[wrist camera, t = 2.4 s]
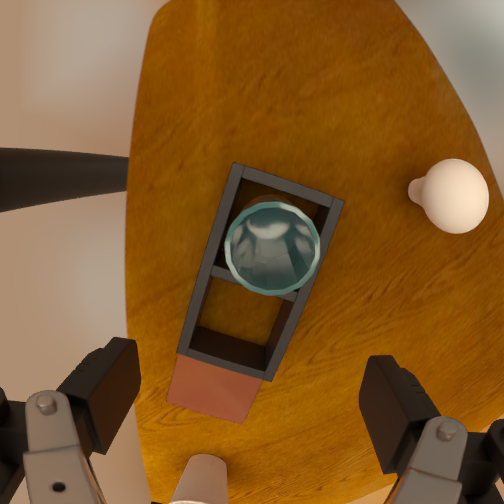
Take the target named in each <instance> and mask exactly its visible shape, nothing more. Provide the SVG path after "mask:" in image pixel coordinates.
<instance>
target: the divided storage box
mask: <svg viewBox="0 0 504 504" xmlns="http://www.w3.org/2000/svg"><path fill="white" fill-rule="evenodd" d="M244 179H247V180H251V181H254V182H257V183H260V184H263V185H266V186H269V187H272V188H275V189H277V190H280V191H283V192H286V193H289V194H292V195H295V196H298V197H300V198H303V199H306V200H309V201H312V202H314V203H317V204H319V207H318V210H317V213H316V216H315V218H314V221H313V224H314V226H315V228H316V230H317V232H318V235H319V237H320V259H319V261H318V264H317V266H316V269H315V272H314V273H313V275H312V276H311V277H310V278H309V279H308V280H307V281H306V282H305V283H304V284H303V285H302V286H301V287H299V288H297V289H295V290H293V291H291V292H289V293H287V294H284V295H272V296H275V297H278V298H282V299H284V301H283V304H282V306H281V309H280V311H279V314H278V316H277V319H276V321H275V324H274V326H273V329H272V331H271V334H270V336H269V339H268V341H267V344H266V346H265V347H264V346H260V345H257V344H254V343H250V342H247V341H244V340H240V339H237V338H234V337H231V336H228V335H225V334H221V333H218V332H215V331H212V330H209V329H206V328H203V327H200V326H198V324H199V320H200V317H201V314H202V310H203V307H204V304H205V300H206V297H207V294H208V291H209V287H210V284H211V281H212V278H213V276H214V277H217V278H220V279H223V280H226V281H229V282H232V283H235V284H238V285H241V286H243V285H242V284H241V283H240V282H238V281H237V280H236V279H235V278H234V276H233V275H232V273H231V271H230V269H229V267H228V265H227V263H226V258H225V253H223V252H221V249H222V246H223V242H224V239H225V236H226V233H227V230H228V227H229V224H230V221H231V218H232V214H233V211H234V208H235V205H236V202H237V199H238V196H239V193H240V190H241V187H242V184H243V181H244ZM344 202H345V201H344V200H341V199H338V198H336V197H333V196H331V195H328V194H325V193H323V192H320V191H317V190H314V189H312V188H309V187H306V186H303V185H301V184H298V183H295V182H292V181H289V180H286V179H283V178H281V177H278V176H275V175H272V174H269V173H266V172H263V171H260V170H257V169H254V168H251V167H248V166H244V165H241V164H238V163H235V162H233V164H232V167H231V170H230V173H229V176H228V179H227V182H226V186H225V189H224V192H223V195H222V198H221V201H220V204H219V207H218V211H217V214H216V217H215V220H214V223H213V227H212V230H211V233H210V236H209V240H208V243H207V246H206V249H205V253H204V256H203V259H202V263H201V266H200V270H199V273H198V276H197V280H196V283H195V287H194V290H193V294H192V297H191V301H190V304H189V308H188V311H187V315H186V319H185V322H184V326H183V330H182V333H181V337H180V341H179V344H178V348H177V352H176V353H178V354H181V355H184V356H187V357H190V358H193V359H196V360H199V361H202V362H205V363H208V364H211V365H214V366H217V367H220V368H224V369H227V370H230V371H234V372H237V373H240V374H244V375H247V376H251V377H254V378H258V379H262V380H266V381H269V382H272V380H273V378H274V375H275V373H276V371H277V369H278V367H279V364H280V362H281V360H282V358H283V356H284V353H285V351H286V349H287V346H288V344H289V342H290V340H291V337H292V335H293V333H294V330H295V328H296V326H297V323H298V321H299V319H300V316H301V314H302V311H303V309H304V307H305V304H306V302H307V299H308V297H309V294H310V292H311V290H312V287H313V285H314V282H315V280H316V277H317V274H318V272H319V269H320V267H321V264H322V262H323V259H324V257H325V254H326V251H327V249H328V246H329V243H330V241H331V238H332V235H333V233H334V230H335V227H336V224H337V222H338V219H339V216H340V213H341V211H342V208H343V205H344Z"/></svg>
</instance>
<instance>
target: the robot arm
mask: <svg viewBox="0 0 504 504" xmlns="http://www.w3.org/2000/svg"><path fill="white" fill-rule="evenodd" d="M140 385H141V374H140V366H139V358H138V350H137V343H136V341H135V340H133V339H126V338H120V337H113V338H112V339H111V340H110V342H109V343H108V344H107V345H106V346H105V347H104V348H98V349H96V350H95V351H93V352H91V353H89V354H88V355H87V356H86V357H85V358H84V359H83V360H82V362H81V363H80V364H79V365H78V366H77V367H76V369H75V370H73V371H72V372H71V374H70V375H69V376H68V377H67V378H66V379H65V380H64V382H63V383H62V384H61V385H60V386H59V387H58V388H57V389H56V391H54V390H45V391H40V392H37V393H35V394H33V395H32V396H31V397H29V398H28V400H27V402H19V401H9V400H7V398H6V396H5V393H4V391H3V389H2V388H1V387H0V504H9V503H10V501H11V499H12V497H13V496H14V494H15V492H16V490H17V488H18V487H19V485H20V483H21V482H22V480H23V478H24V477H25V476H26V483H27V489H28V494H29V500H30V504H107V503H106V500H105V498H104V496H103V493H102V491H101V488H100V486H99V483H98V481H97V478H96V475H95V473H94V470H93V467H92V465H91V462H90V459H89V457H90V455H91V454H92V452H97V453H100V454H103V455H106V453H107V451H108V449H109V447H110V445H111V443H112V441H113V439H114V437H115V436H116V434H117V432H118V430H119V428H120V426H121V424H122V422H123V421H124V419H125V417H126V415H127V413H128V411H129V409H130V408H131V406H132V404H133V402H134V400H135V398H136V397H137V395H138V393H139V390H140ZM420 385H421V384H420V383H419V381H418V380H417V378H416V377H415V375H413V374H412V373H410V372H409V371H408V370H406V369H405V368H400V367H399V365H398V364H397V362H396V361H395V359H394V358H393V356H392V355H375V356H370V357H369V359H368V362H367V365H366V369H365V373H364V377H363V381H362V384H361V388H360V392H359V408H360V410H361V413H362V416H363V419H364V421H365V424H366V427H367V429H368V432H369V435H370V438H371V440H372V443H373V446H374V449H375V452H376V455H377V457H378V460H379V463H380V466H381V469H382V472H383V475H384V474H390V473H397V476H398V478H397V480H396V482H395V484H394V486H393V487H392V489H391V491H390V493H389V495H388V497H387V498H386V500H385V502H384V504H504V501H503V499H502V497H501V495H500V493H499V491H498V489H497V487H496V485H495V483H496V482H497V481H498V479H499V478H501V480H502V482H503V483H504V419H499V420H496V421H494V422H493V423H492V424H491V426H490V428H489V429H488V431H487V433H479V432H467V430H466V428H465V426H464V425H463V424H462V423H461V422H459V421H458V420H456V419H454V418H451V417H446V416H441V414H440V413H439V411H438V410H437V408H436V407H435V405H434V404H433V402H432V401H431V399H430V398H429V396H428V395H427V393H426V394H425V390H424V389H423V387H422V386H420ZM151 504H162V503H157V502H151Z"/></svg>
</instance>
